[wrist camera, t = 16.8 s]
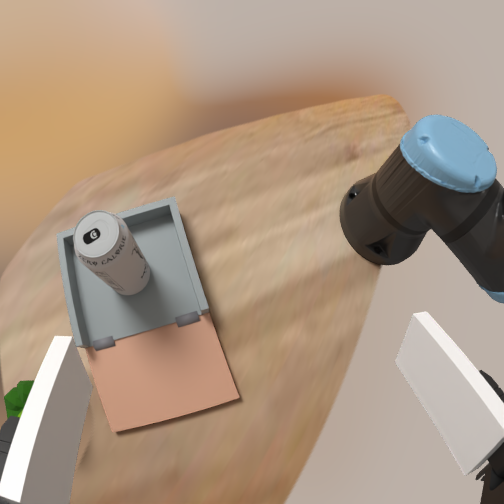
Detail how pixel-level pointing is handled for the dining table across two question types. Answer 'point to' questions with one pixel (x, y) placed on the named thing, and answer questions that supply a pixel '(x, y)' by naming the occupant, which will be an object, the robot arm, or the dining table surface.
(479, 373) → the robot arm
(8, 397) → the bell pepper
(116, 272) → the energy drink can
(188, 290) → the hinged lid tray
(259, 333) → the dining table surface
